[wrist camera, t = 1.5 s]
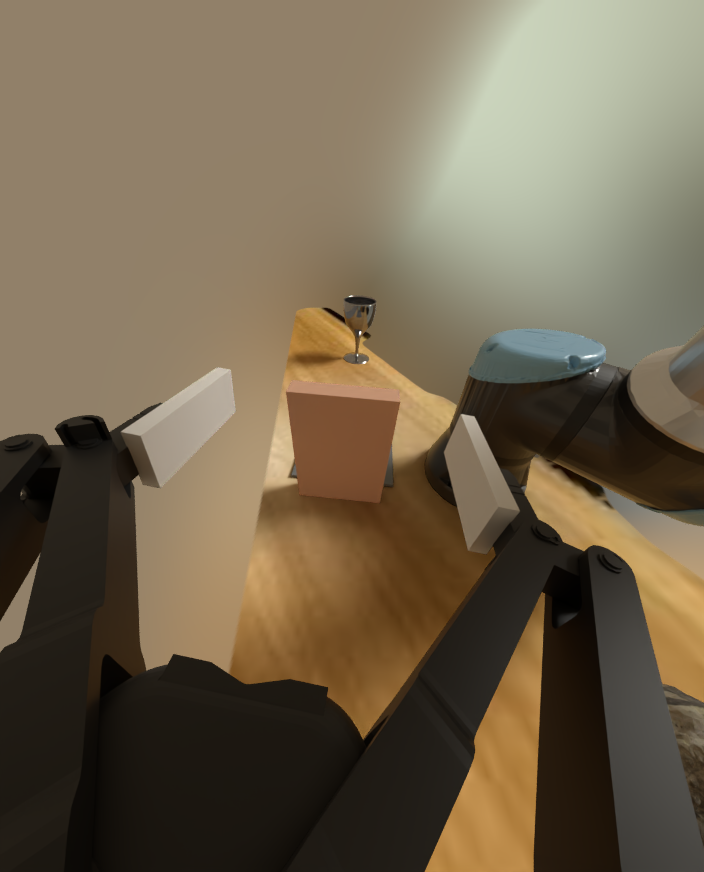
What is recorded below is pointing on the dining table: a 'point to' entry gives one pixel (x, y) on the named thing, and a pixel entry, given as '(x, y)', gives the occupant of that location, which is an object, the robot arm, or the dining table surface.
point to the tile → (341, 438)
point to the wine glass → (358, 322)
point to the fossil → (689, 744)
